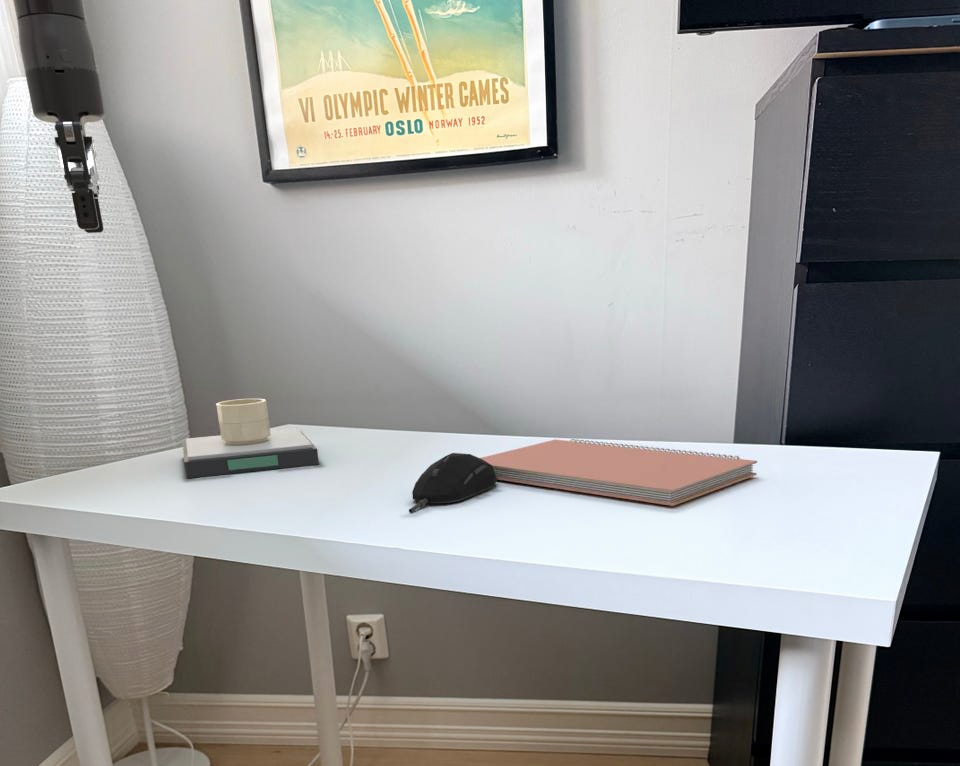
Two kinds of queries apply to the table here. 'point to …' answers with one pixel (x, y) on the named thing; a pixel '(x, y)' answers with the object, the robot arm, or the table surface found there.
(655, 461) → the notebook
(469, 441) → the table surface
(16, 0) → the robot arm
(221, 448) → the scale
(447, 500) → the gaming mouse
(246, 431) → the container
